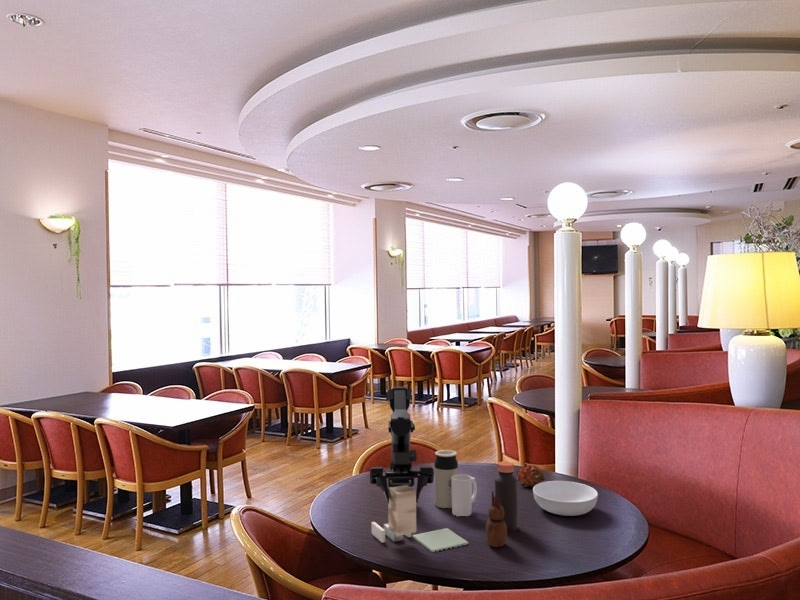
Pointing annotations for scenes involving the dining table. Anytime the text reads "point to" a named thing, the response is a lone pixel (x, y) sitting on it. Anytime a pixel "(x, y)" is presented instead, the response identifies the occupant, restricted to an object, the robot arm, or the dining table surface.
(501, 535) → the wooden figurine
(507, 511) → the bottle
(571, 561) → the dining table surface
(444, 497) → the travel mug
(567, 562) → the dining table surface
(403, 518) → the block
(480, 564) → the dining table surface
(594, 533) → the dining table surface
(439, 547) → the mat
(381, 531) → the channel
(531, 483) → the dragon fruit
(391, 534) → the bar
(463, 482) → the mug
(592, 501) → the serving bowl
